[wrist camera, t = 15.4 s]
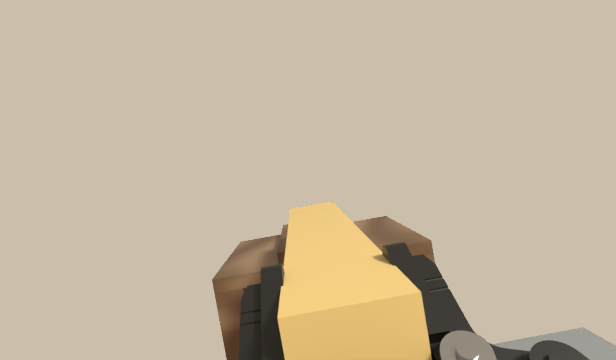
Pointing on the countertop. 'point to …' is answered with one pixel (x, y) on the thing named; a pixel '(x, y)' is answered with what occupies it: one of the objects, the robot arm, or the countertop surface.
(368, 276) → the yellow bar
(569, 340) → the block
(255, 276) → the stool
